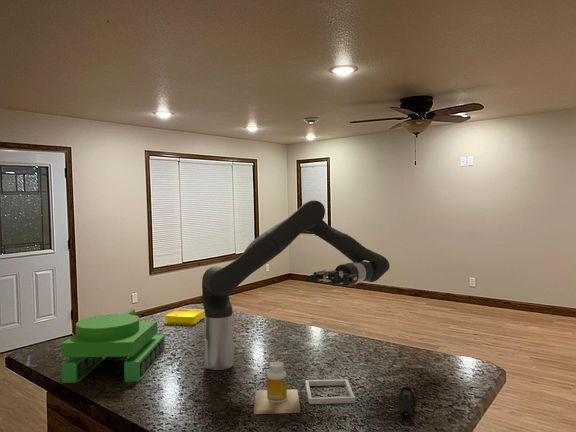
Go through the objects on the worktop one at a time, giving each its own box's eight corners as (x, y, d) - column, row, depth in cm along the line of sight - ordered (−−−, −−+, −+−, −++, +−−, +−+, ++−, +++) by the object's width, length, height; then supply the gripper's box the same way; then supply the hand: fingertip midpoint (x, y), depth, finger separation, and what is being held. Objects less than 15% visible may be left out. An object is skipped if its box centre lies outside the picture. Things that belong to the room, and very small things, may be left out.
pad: (253, 413, 112) (253, 410, 112) (255, 393, 124) (255, 390, 124) (300, 412, 113) (300, 408, 113) (297, 392, 125) (297, 389, 125)
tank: (169, 347, 169) (169, 305, 169) (140, 382, 134) (139, 329, 134) (106, 348, 169) (106, 306, 169) (61, 383, 134) (60, 330, 134)
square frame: (309, 404, 118) (309, 398, 117) (305, 384, 130) (305, 380, 130) (355, 402, 118) (355, 397, 118) (347, 383, 131) (347, 379, 131)
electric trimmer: (397, 421, 108) (397, 408, 108) (399, 394, 123) (399, 383, 123) (413, 423, 107) (413, 410, 107) (413, 396, 122) (413, 385, 122)
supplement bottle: (284, 404, 115) (284, 367, 115) (265, 402, 116) (264, 366, 116) (288, 395, 121) (288, 360, 120) (269, 394, 122) (269, 359, 122)
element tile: (163, 325, 200) (163, 314, 200) (177, 316, 215) (177, 307, 214) (193, 326, 197) (193, 315, 197) (206, 318, 212) (206, 308, 212)
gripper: (333, 261, 155) (303, 266, 143) (368, 264, 145) (339, 270, 133) (333, 282, 155) (304, 289, 143) (368, 287, 145) (339, 294, 133)
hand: (321, 280), depth 138 cm, fingers open, 8 cm apart
